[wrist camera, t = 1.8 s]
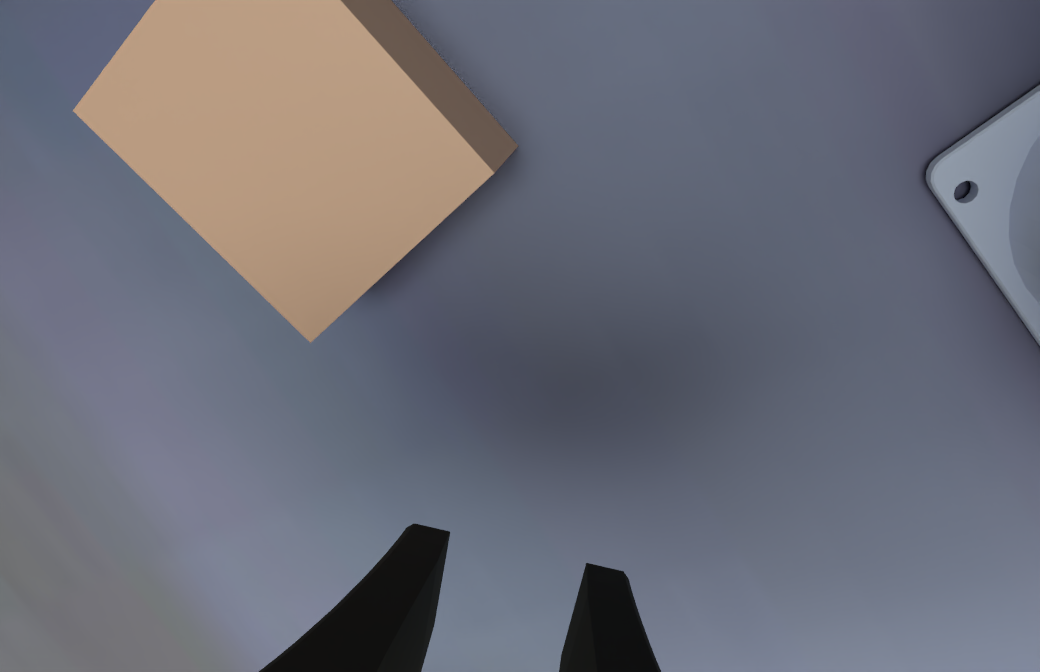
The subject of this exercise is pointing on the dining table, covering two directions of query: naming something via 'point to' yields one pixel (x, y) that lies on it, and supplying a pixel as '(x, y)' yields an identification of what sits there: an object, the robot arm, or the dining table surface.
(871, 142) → the dining table surface
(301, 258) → the tan rectangular block
